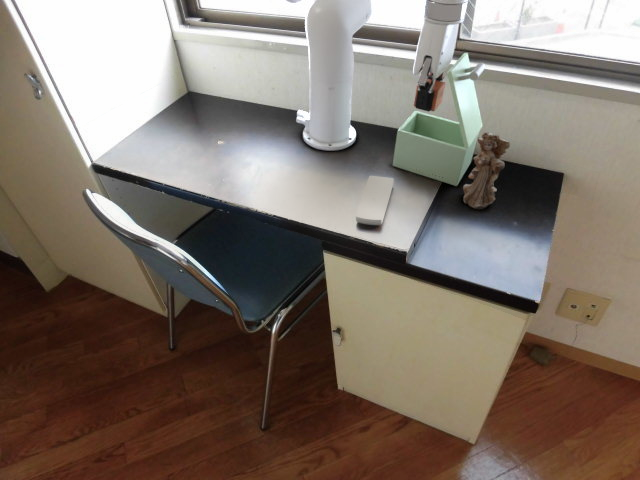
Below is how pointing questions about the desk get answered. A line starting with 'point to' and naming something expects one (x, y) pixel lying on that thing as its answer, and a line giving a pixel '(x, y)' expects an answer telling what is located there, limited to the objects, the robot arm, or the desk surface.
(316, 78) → the robot arm
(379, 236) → the desk surface
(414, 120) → the chest
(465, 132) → the lid
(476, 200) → the figurine
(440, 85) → the block
